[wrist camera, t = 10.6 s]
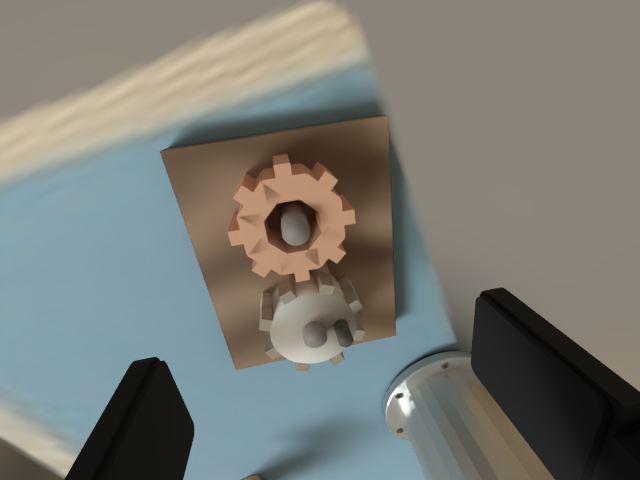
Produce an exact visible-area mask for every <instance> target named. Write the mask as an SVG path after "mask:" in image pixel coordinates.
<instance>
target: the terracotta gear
mask: <svg viewBox="0 0 640 480" xmlns="http://www.w3.org/2000/svg"><path fill="white" fill-rule="evenodd" d="M337 182H338V180H337V179H336V177H335V176H334V175H333V174H332V173H331V172H330V171H329V170H328V169H327V168H326V167H324V166H323V165H322V164H320V163H319V162H318V161H317V163H316V164H315V165H314V167H313V168H312V169H311V170H310V169H309V168H307V167H306V166H305V165H303V164H301V163H297V164H291V165H290V161H289V158H288V155H287V154H282V155H276V156H273V168H267V169H263V170H262V171H261V172H260V173H259V175H258V176H257V178H256V179H254V178H253V177H251V176H250V175H248V174H247V173H246V174H245V175H244V177H243V178H242V180H241V181H240V183H239V184H238V186H237V189H236V192H235V194H234V197H233V199H234V200H236V201H238V202H239V203H241V204H240V207H239V210H238V213H234V214H233V217H232V220H231V223H230V226H229V229H228V236H229V239H230V243H231V246H235V245H240V244H244V247H245V251H246V255H248V257H250V258H252V259H253V265H252V271H253V272H255V273H257V274H259V275H260V276H262V277H264V278H265V276H266V275H267V274H268V273H269V271H270V270H273V271H275V272H277V273H278V274H280V275H286V274H291V273H294V274H295V279H296V282H301V281H306V280H310V276H309V270H312V269H317V268H320V267H322V266H323V265H324V263H325V262H326V261H327V260H328V258H329V259H330V260H332V261H334V262H335V263H338V262H339V261H340V260H341V259H342V257H343V256H344V255H345V254H346V252H345V250H344V248H343V246H342V244H341V242H342V241H343V240H344V239H345V228H344V226H345V225H350V224H356V222H355V211H354V208H353V207H352V206H351V205H350V203H349V202H348V201H347V200H346V198H345V197H344V196H343V195H338V194H337V192H336V191H335V190H334V188H333V187H334V186H335V184H336V183H337ZM294 200H302V201H303V202H305V203H306V204H308V205H309V206H310V207H312V208H313V209H314V217H313V218H312V219H311V221H310V222H309V223H308V224H309V227H310V237H309V239H308V240H307V241H306V242H305V243H304V244H302V245H298V246H294V245H290V244H288V243H287V242H286V241H285V240H284V239H283V237H282V232H281V231H280V230H278V229H277V228H275V227H273V226H272V225H270V224H268V219H267V217H268V215H269V214H270V212H271V211H272V210H273V208H274V207H275V205H276V204H277V203H283V202H288V201H294Z"/></svg>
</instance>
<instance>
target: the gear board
mask: <svg viewBox="0 0 640 480" xmlns="http://www.w3.org/2000/svg"><path fill="white" fill-rule="evenodd" d="M160 153H161V156H162V159H163V162H164V165H165V168H166V171H167V173H168V176H169V179H170V182H171V185H172V188H173V191H174V194H175V196H176V199H177V202H178V205H179V208H180V211H181V214H182V217H183V219H184V222H185V225H186V228H187V231H188V234H189V237H190V240H191V242H192V245H193V248H194V251H195V254H196V257H197V260H198V263H199V265H200V268H201V271H202V274H203V277H204V280H205V283H206V286H207V289H208V291H209V294H210V297H211V300H212V303H213V306H214V309H215V312H216V314H217V317H218V320H219V323H220V326H221V329H222V332H223V335H224V337H225V340H226V343H227V346H228V349H229V352H230V355H231V358H232V360H233V363H234V366H235V369H236V370H239V369H243V368H248V367H252V366H257V365H262V364H266V363H271V362H276V361H280V360H285V359H289V360H291V361H294V362H295V368H296V370H301V371H308V368H309V365H310V363H318V362H323V361H326V360H330V361H331V362H332V363H333V364H334V365H335V364H337V363H339V362H341V361H342V360H344V356H343V353H342V351H343V350H344V349H345V348H347V347H348V346H350V345H354V344H359V343H363V342H368V341H372V340H377V339H382V338H386V337H391V336H395V335H396V323H395V295H394V266H393V238H392V210H391V181H390V153H389V125H388V116H385V115H378V116H371V117H365V118H358V119H352V120H345V121H339V122H332V123H326V124H319V125H313V126H307V127H300V128H294V129H287V130H281V131H274V132H268V133H261V134H255V135H249V136H242V137H236V138H229V139H223V140H216V141H210V142H203V143H197V144H190V145H184V146H178V147H171V148H166V149H164V150H162V151H160ZM282 154H287V155H288V158H289V161H290V165H291V164H297V163H301V164H303V165H305V166H306V167H307V168H309V169H310V170H311V169H312V168H313V167H314V165H315V164H316V163H317V161H318V162H319V163H320V164H322V165H323V166H324V167H326V168H327V169H328V170H329V171H330V172H331V173H332V174H333V175H334V176H335V177H336V179H337V180H338V182H337V183H336V184H335V186H334V187H333V188H334V190H335V191H336V192H337V194H338V195H343V196H344V197H345V198H346V200H347V201H348V202H349V203H350V205H351V206H352V207H353V208H354V211H355V222H356V224H350V225H345V226H344V228H345V239H344V240H343V241H342V242H341V244H342V246H343V248H344V250H345V252H346V254H345V255H344V256H343V257H342V259H341V260H340V261H339V262H338V263H335V262H334V261H332V260H330V259H329V258H328V260H327V261H326V262H325V263H324V265H323V266H322V267H320V268H317V269H312V270H309V276H310V280H306V281H301V282H296V279H295V274H294V273H291V274H286V275H280V274H278V273H277V272H275V271H273V270H270V271H269V273H268V274H267V275H266V276H265V278H264V277H262V276H260V275H259V274H257V273H255V272H253V271H252V265H253V259H252V258H250V257H248V255H246V251H245V247H244V244H240V245H235V246H231V243H230V239H229V236H228V229H229V226H230V223H231V220H232V217H233V214H234V213H238V210H239V207H240V204H241V203H239V202H238V201H236V200H234V199H233V197H234V194H235V192H236V189H237V186H238V184H239V183H240V181H241V180H242V178H243V177H244V175H245V174H246V173H247V174H248V175H250V176H251V177H253V178H254V179H256V178H257V176H258V175H259V173H260V172H261V171H262V170H263V169H267V168H273V156H276V155H282ZM313 217H314V209H313V208H312V207H310V206H309V205H308V204H306V203H305V202H303V201H302V200H294V201H288V202H283V203H277V204H276V205H275V207H274V208H273V210H272V211H271V212H270V214H269V215H268V217H267V219H268V224H270V225H272V226H273V227H275V228H277V229H278V230H280V231H281V232H282V237H283V239H284V240H285V241H286V242H287V243H288V244H290V245H294V246H298V245H302V244H304V243H305V242H306V241H307V240H308V239H309V237H310V227H309V224H308V223H309V222H310V221H311V219H312V218H313Z"/></svg>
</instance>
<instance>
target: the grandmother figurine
mask: <svg viewBox="0 0 640 480" xmlns="http://www.w3.org/2000/svg"><path fill="white" fill-rule="evenodd" d="M243 480H262V479H261V478H260V477H259V476H256V475H253V476H249V477H247V478H245V479H243Z"/></svg>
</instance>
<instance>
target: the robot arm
mask: <svg viewBox="0 0 640 480" xmlns="http://www.w3.org/2000/svg"><path fill="white" fill-rule="evenodd" d="M383 413H384V417H385V420H386V422H387V425H388V427H389V428H390V430H391V431H392V432H393V433H394V434H396V435H397V436H398V437H400V438H403V439H405V440H408V441H410V442H411V445H412V447H413V449H414V452H415V454H416V457H417V459H418V461H419V464H420V466H421V469H422V471H423V473H424V476H425V478H426V480H640V392H639V391H638V390H637V389H635V388H634V387H633V386H631V385H630V384H629V383H627V382H626V381H625V380H624V379H622V378H621V377H620V376H618V375H617V374H616V373H614V372H613V371H612V370H611V369H609V368H608V367H607V366H605V365H604V364H602V363H601V362H600V361H599V360H597V359H596V358H595V357H594V356H592V355H591V354H590V353H588V352H587V351H586V350H584V349H583V348H582V347H580V346H579V345H578V344H577V343H575V342H574V341H573V340H571V339H570V338H569V337H567V336H566V335H565V334H563V333H562V332H561V331H560V330H558V329H557V328H556V327H554V326H553V325H552V324H550V323H549V322H548V321H546V320H545V319H544V318H543V317H541V316H540V315H539V314H537V313H536V312H535V311H534V310H532V309H531V308H530V307H528V306H527V305H526V304H524V303H523V302H522V301H520V300H519V299H518V298H517V297H515V296H514V295H513V294H511V293H510V292H509V291H507V290H506V289H504V288H496V289H491V290H486V291H483V292H481V294H480V297H477V299H476V304H475V316H474V329H473V340H472V352H471V353H470V352H464V351H449V352H443V353H438V354H435V355H432V356H429V357H426V358H424V359H422V360H420V361H418V362H416V363H414V364H413V365H411V366H410V367H408V368H407V369H406V370H404V371H403V372H402V373H401V374H400V375H399V376H398V377H397V378H396V379H395V380H394V382H393V383H392V384H391V385H390V387H389V389H388V391H387V392H386V395H385V398H384V401H383ZM193 438H194V423H193V421H192V419H191V416H190V414H189V412H188V410H187V407H186V405H185V403H184V401H183V399H182V396H181V394H180V392H179V390H178V388H177V385H176V383H175V381H174V379H173V377H172V374H171V372H170V370H169V368H168V366H167V364H166V362H165V361H160V360H159V358H157V357H152V358H147V359H142V360H137V361H134V362H132V364H131V365H130V366H129V368H128V370H127V372H126V373H125V375H124V377H123V379H122V380H121V382H120V384H119V386H118V387H117V389H116V391H115V393H114V394H113V396H112V398H111V399H110V401H109V403H108V405H107V406H106V408H105V410H104V412H103V413H102V415H101V417H100V419H99V420H98V422H97V424H96V426H95V427H94V429H93V431H92V433H91V434H90V436H89V438H88V440H87V441H86V443H85V445H84V446H83V448H82V450H81V452H80V453H79V455H78V457H77V459H76V460H75V462H74V464H73V466H72V467H71V469H70V471H69V473H68V474H67V476H66V478H65V480H183V478H184V474H185V470H186V466H187V462H188V458H189V454H190V450H191V446H192V442H193Z"/></svg>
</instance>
